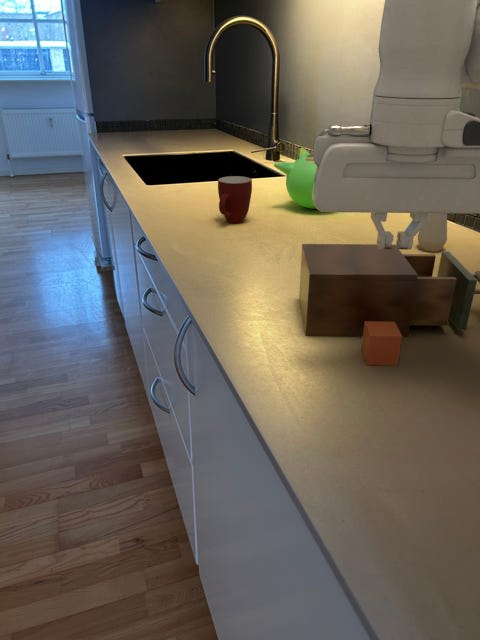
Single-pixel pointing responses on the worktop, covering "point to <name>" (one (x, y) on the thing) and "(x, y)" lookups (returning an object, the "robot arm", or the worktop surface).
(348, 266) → the cabinet
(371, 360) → the block
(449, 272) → the drawer
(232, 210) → the mug
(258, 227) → the worktop surface
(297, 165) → the toy bird
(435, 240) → the salt shaker
